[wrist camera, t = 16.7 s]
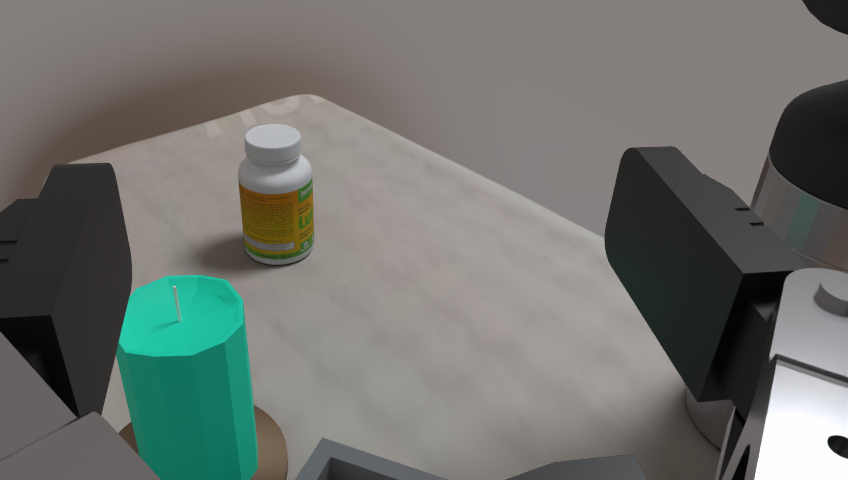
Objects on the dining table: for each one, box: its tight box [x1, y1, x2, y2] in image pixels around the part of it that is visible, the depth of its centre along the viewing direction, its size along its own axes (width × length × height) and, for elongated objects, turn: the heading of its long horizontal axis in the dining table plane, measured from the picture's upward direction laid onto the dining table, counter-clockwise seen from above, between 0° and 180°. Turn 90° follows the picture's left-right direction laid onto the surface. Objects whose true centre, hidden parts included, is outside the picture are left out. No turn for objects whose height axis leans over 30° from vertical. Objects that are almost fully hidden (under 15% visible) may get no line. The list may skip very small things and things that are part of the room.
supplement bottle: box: [238, 124, 314, 265], centre depth 57 cm, size 5×5×10 cm
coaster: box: [118, 406, 288, 480], centre depth 41 cm, size 10×10×1 cm
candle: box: [116, 275, 258, 480], centre depth 38 cm, size 6×6×12 cm
